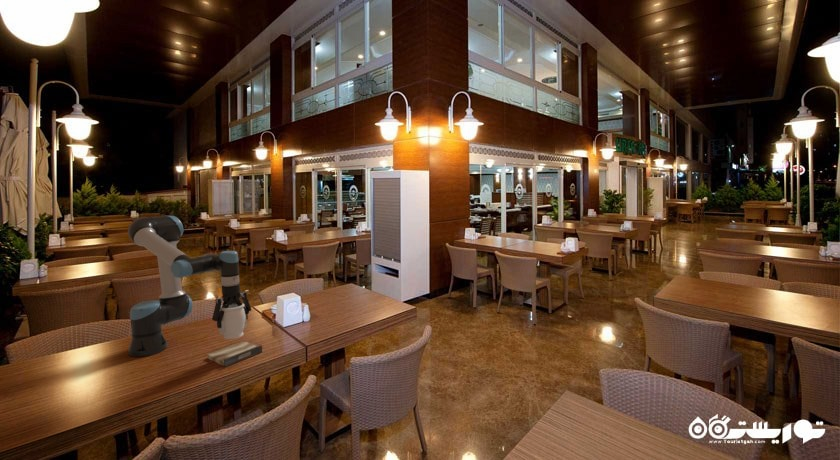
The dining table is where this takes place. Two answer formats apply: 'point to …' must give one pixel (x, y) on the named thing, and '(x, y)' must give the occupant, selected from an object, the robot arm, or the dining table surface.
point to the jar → (233, 321)
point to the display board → (234, 353)
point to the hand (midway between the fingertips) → (233, 330)
